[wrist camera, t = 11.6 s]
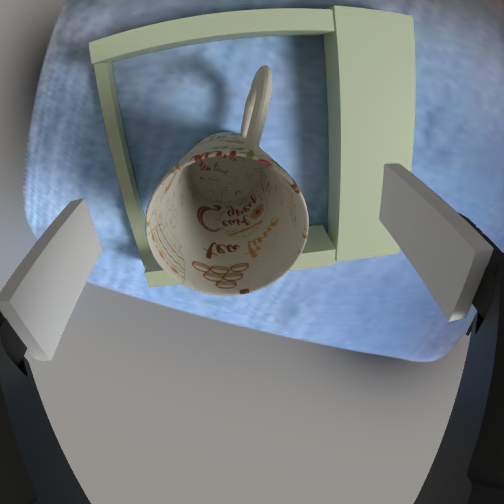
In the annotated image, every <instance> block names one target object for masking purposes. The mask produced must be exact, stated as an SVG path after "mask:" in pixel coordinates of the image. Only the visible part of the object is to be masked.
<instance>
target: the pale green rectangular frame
mask: <svg viewBox="0 0 504 504" xmlns="http://www.w3.org/2000/svg"><path fill="white" fill-rule="evenodd" d="M320 34H323V36H324V49H325V64H326V82H327V104H328V145H329V191H328V232H326V230H325V228H324V227H323V225H313V226H309V228H308V235H307V240H306V243H305V246H304V248H303V251H302V253H301V255H300V256H299V258H298V260H297V261H296V262H295V264H294V265H293V266H292V267H291V269H290V270H289V271H293V270H301V269H308V268H316V267H323V266H331V265H335V260H336V262H341V261H348V260H355V259H362V258H370V257H377V256H384V255H391V254H398V253H399V250H400V247H399V246H398V244H397V243H396V241H395V240H394V239H393V237H392V236H391V235H390V233H389V232H388V231H387V229H386V228H385V227H384V225H383V224H382V223H381V221H380V220H379V214H380V205H381V195H382V185H383V174H384V164H391V163H400V164H401V165H402V166H403V167H405V168H406V169H407V170H408V171H410V172H411V165H412V154H413V140H414V124H415V91H416V72H415V41H414V25H413V16H409V15H404V14H399V13H393V12H387V11H380V10H373V9H366V8H357V7H347V6H335V5H334V6H332V7H330V8H328V9H307V8H280V9H256V10H242V11H231V12H221V13H213V14H206V15H199V16H193V17H187V18H181V19H176V20H171V21H166V22H161V23H156V24H152V25H148V26H144V27H140V28H136V29H132V30H128V31H125V32H121V33H118V34H114V35H111V36H108V37H104V38H101V39H98V40H95V41H92V42H89V51H90V58H91V64H94V70H95V76H96V82H97V88H98V93H99V99H100V104H101V109H102V114H103V119H104V124H105V128H106V133H107V138H108V142H109V146H110V151H111V155H112V159H113V163H114V167H115V171H116V175H117V179H118V182H119V186H120V190H121V193H122V197H123V201H124V204H125V208H126V211H127V215H128V218H129V221H130V225H131V228H132V231H133V234H134V238H135V241H136V244H137V247H138V250H139V253H140V256H141V259H142V262H143V265H144V268H146V269H145V272H144V273H145V276H146V279H147V282H148V284H149V287H156V286H166V285H175V284H181V283H179V282H177V281H176V280H174V279H173V278H172V277H171V276H169V275H168V274H167V273H166V272H165V271H164V270H163V269H162V268H161V266H160V265H159V264H158V263H157V261H156V259H155V258H154V256H153V254H152V252H151V250H150V248H149V245H148V241H147V237H146V231H145V215H144V212H143V208H142V204H141V200H140V196H139V193H138V189H137V185H136V181H135V177H134V172H133V168H132V164H131V160H130V155H129V151H128V146H127V142H126V137H125V132H124V128H123V123H122V118H121V112H120V107H119V102H118V96H117V91H116V85H115V79H114V73H113V66H112V62H116V61H119V60H123V59H127V58H131V57H134V56H138V55H143V54H147V53H151V52H156V51H160V50H165V49H170V48H175V47H181V46H186V45H192V44H198V43H205V42H212V41H220V40H229V39H238V38H250V37H264V36H289V35H320Z"/></svg>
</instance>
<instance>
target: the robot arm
mask: <svg viewBox="0 0 504 504" xmlns="http://www.w3.org/2000/svg"><path fill="white" fill-rule="evenodd" d="M379 220H380V221H381V223H382V224H383V225H384V227H385V228H386V229H387V231H388V232H389V233H390V235H391V236H392V237H393V239H394V240H395V241H396V243H397V244H398V246H399V247H400V248H401V250H402V251H403V253H404V254H405V255H406V257H407V258H408V260H409V261H410V263H411V264H412V265H413V267H414V268H415V270H416V271H417V273H418V274H419V276H420V277H421V279H422V280H423V282H424V283H425V285H426V286H427V288H428V289H429V291H430V292H431V294H432V296H433V297H434V299H435V300H436V302H437V303H438V305H439V307H440V308H441V310H442V311H443V313H444V315H445V316H446V318H447V320H448V321H449V322H450V321H454V320H457V319H461V318H465V317H466V316H467V314H468V311H469V309H470V307H471V305H472V304H473V305H474V307H475V308H476V309H477V313H476V315H475V317H474V319H473V321H472V323H471V325H470V327H469V329H468V331H467V333H466V335H469V334H470V332H471V337H470V342H469V347H468V352H467V356H466V361H465V365H464V369H463V374H462V378H461V381H460V386H459V389H458V392H457V396H456V399H455V403H454V406H453V409H452V412H451V416H450V419H449V422H448V425H447V428H446V430H445V433H444V436H443V439H442V441H441V444H440V447H439V449H438V452H437V454H436V457H435V459H434V462H433V464H432V466H431V469H430V471H429V473H428V475H427V478H426V480H425V482H424V484H423V486H422V488H421V491H420V493H419V495H418V497H417V499H416V500H415V502H414V504H504V253H502V252H501V251H500V249H499V248H498V247H497V246H496V245H495V244H494V243H493V242H492V241H491V240H490V239H489V238H488V237H487V236H486V235H485V234H483V232H482V231H481V230H480V229H479V228H476V225H475V224H474V223H473V222H472V221H470V220H469V219H468V218H467V217H465V216H463V215H462V214H460V213H458V212H456V211H455V210H454V209H453V208H452V207H451V206H450V205H449V204H447V203H446V202H445V201H444V200H443V199H442V198H441V197H440V196H438V195H437V194H436V193H435V192H434V191H433V190H431V189H430V188H429V187H428V186H427V185H426V184H424V183H423V182H422V181H421V180H420V179H418V178H417V177H416V176H415V175H413V174H412V173H411V172H410V171H408V170H407V169H406V168H405V167H403V166H402V165H401V164H400V163H391V164H384V174H383V185H382V195H381V205H380V214H379ZM102 250H103V249H102V247H101V244H100V241H99V239H98V236H97V233H96V231H95V228H94V225H93V222H92V219H91V217H90V214H89V211H88V208H87V205H86V202H85V199H79V200H75V201H71V202H70V203H69V204H68V205H67V206H66V207H65V208H64V210H63V211H62V212H61V213H60V214H59V215H58V217H57V218H56V219H55V220H54V221H53V222H52V224H51V225H50V226H49V227H48V228H47V230H46V231H45V232H44V233H43V235H42V236H41V237H40V238H39V240H38V241H37V242H36V244H35V245H34V246H33V247H32V249H31V250H30V251H29V253H28V254H27V255H26V257H25V258H24V259H23V261H22V262H21V263H20V265H19V266H18V267H17V269H16V270H15V272H14V273H13V275H12V276H11V278H10V279H9V280H8V282H7V283H6V285H5V286H4V288H3V289H2V291H1V292H0V504H91V503H90V501H89V500H88V498H87V496H86V495H85V493H84V491H83V489H82V488H81V486H80V484H79V482H78V480H77V479H76V477H75V475H74V473H73V471H72V469H71V467H70V465H69V463H68V461H67V459H66V457H65V455H64V453H63V451H62V449H61V447H60V445H59V442H58V440H57V438H56V436H55V433H54V431H53V429H52V426H51V424H50V421H49V419H48V416H47V414H46V411H45V409H44V406H43V404H42V401H41V398H40V396H39V392H38V390H37V387H36V384H35V381H34V378H33V374H32V371H31V368H30V365H29V363H28V361H27V359H26V358H25V357H24V354H25V352H26V350H27V349H28V350H29V352H30V353H31V354H32V356H33V357H34V358H35V359H36V360H46V361H51V360H52V358H53V355H54V353H55V350H56V348H57V345H58V343H59V340H60V338H61V336H62V333H63V331H64V328H65V326H66V324H67V322H68V320H69V317H70V315H71V313H72V311H73V308H74V306H75V304H76V302H77V300H78V297H79V296H80V293H81V291H82V289H83V287H84V285H85V283H86V281H87V279H88V277H89V275H90V273H91V271H92V269H93V267H94V265H95V263H96V261H97V260H98V258H99V256H100V254H101V252H102Z"/></svg>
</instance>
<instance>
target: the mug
mask: <svg viewBox="0 0 504 504" xmlns="http://www.w3.org/2000/svg"><path fill="white" fill-rule="evenodd" d="M271 90H272V72H271V69H270V68H269V67H268V66H262V67H260V68H259V70H258V71H257V73H256V75H255V77H254V80H253V82H252V86H251V89H250V92H249V95H248V98H247V100H246V104H245V110H244V115H243V121H242V126H241V134H237V133H233V132H220V133H215V134H212V135H210V136H207V137H206V138H204V139H202V140H201V141H200V142H199V143H197V144H196V145H195V146H194V147H193V148H192V149H191V150H190V151H189V152H188V153H187V154H186V155H185V156H184V157H182V158H181V159H180V160H179V161H178V162H177V163H176V164H175V165H174V166H173V167H172V168H171V169H170V170H169V171H168V172H167V173H166V174H165V175H164V177H163V178H162V179H161V181H160V182H159V183H158V185H157V186H156V188H155V190H154V192H153V194H152V196H151V198H150V201H149V203H148V207H147V211H146V218H145V231H146V237H147V241H148V245H149V248H150V250H151V252H152V254H153V256H154V258H155V259H156V261H157V263H158V264H159V265H160V266H161V268H162V269H163V270H164V271H165V272H166V273H167V274H168V275H169V276H171V277H172V278H173V279H174V280H176V281H177V282H179V283H181V284H182V285H184V286H186V287H188V288H190V289H193V290H195V291H198V292H202V293H206V294H211V295H220V296H233V295H241V294H246V293H250V292H254V291H257V290H260V289H262V288H264V287H266V286H268V285H270V284H272V283H274V282H275V281H277V280H278V279H279V278H281V277H282V276H283V275H284V274H286V273H287V272H288V271H289V270H290V269H291V267H292V266H293V265H294V264H295V262H296V261H297V260H298V258H299V256H300V255H301V253H302V251H303V248H304V246H305V243H306V240H307V235H308V228H309V218H308V210H307V206H306V202H305V200H304V197H303V195H302V193H301V191H300V189H299V187H298V186H297V184H296V183H295V181H294V180H293V179H292V177H291V176H290V175H289V174H288V173H287V172H286V171H285V170H284V169H283V168H282V167H281V166H280V165H279V164H278V163H277V162H276V161H274V160H273V159H272V158H271V157H270V156H269V155H268V154H267V153H265V152H264V151H263V150H262V149H261V148H260V147H259V142H260V139H261V135H262V131H263V128H264V124H265V120H266V117H267V112H268V108H269V103H270V98H271Z"/></svg>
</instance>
